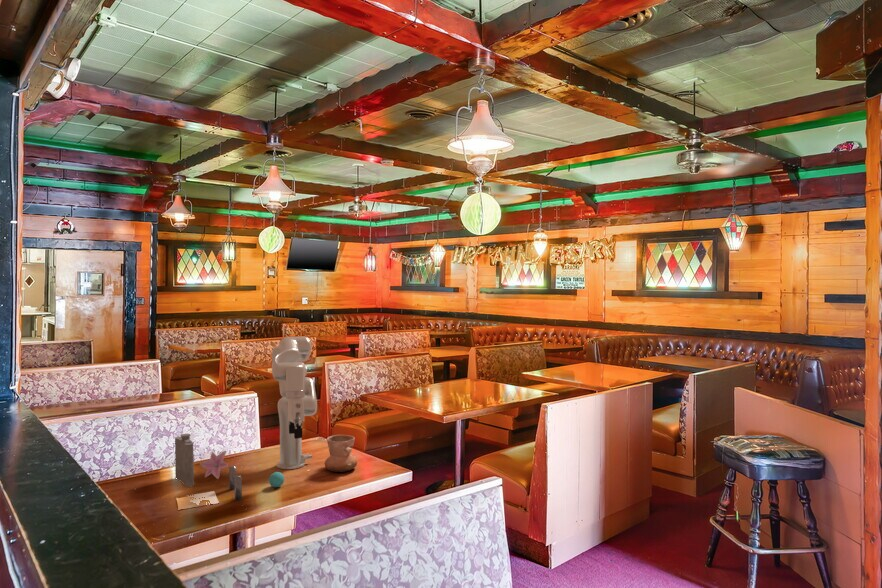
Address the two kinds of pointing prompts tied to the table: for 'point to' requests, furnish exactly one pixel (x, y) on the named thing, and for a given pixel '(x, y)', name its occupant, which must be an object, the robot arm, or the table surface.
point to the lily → (214, 464)
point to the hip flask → (184, 460)
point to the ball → (276, 479)
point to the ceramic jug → (340, 453)
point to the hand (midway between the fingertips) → (295, 435)
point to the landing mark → (208, 496)
